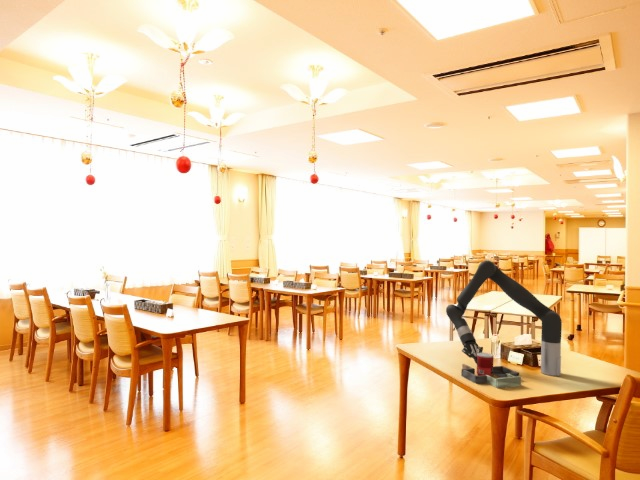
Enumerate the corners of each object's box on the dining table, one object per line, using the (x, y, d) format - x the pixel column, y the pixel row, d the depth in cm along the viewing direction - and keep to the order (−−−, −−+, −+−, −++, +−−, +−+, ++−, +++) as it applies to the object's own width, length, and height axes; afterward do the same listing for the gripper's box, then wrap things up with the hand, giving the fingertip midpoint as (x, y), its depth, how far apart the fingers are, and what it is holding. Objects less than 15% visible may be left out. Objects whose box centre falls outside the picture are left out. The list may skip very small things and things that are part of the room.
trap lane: (452, 371, 228) (452, 363, 228) (492, 368, 235) (492, 359, 235) (487, 389, 201) (487, 380, 201) (530, 385, 208) (530, 375, 208)
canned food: (494, 378, 218) (495, 356, 218) (478, 377, 219) (479, 356, 219) (490, 373, 226) (491, 352, 226) (475, 372, 227) (475, 352, 226)
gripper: (458, 332, 234) (471, 361, 222) (479, 331, 237) (493, 359, 226) (452, 339, 239) (465, 368, 227) (473, 338, 243) (486, 366, 231)
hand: (479, 363), depth 226 cm, fingers closed
